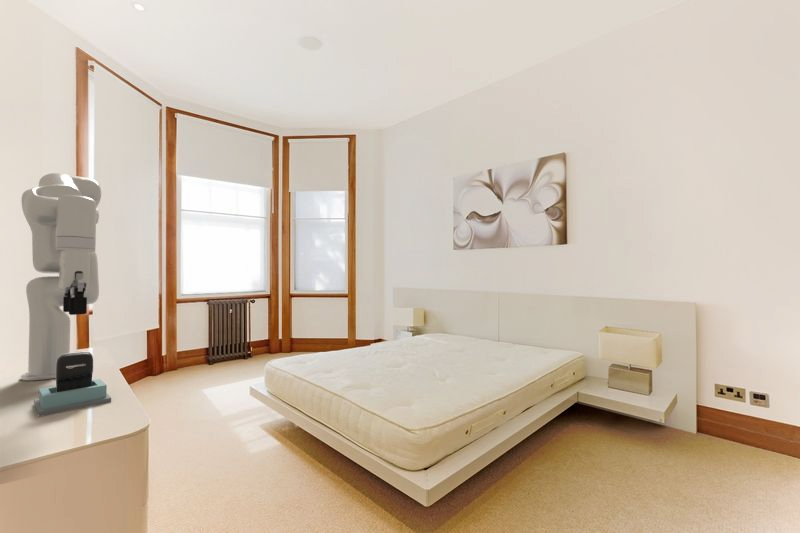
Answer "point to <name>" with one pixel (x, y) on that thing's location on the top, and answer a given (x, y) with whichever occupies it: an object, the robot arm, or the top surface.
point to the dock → (70, 398)
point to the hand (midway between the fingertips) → (74, 312)
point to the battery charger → (74, 371)
